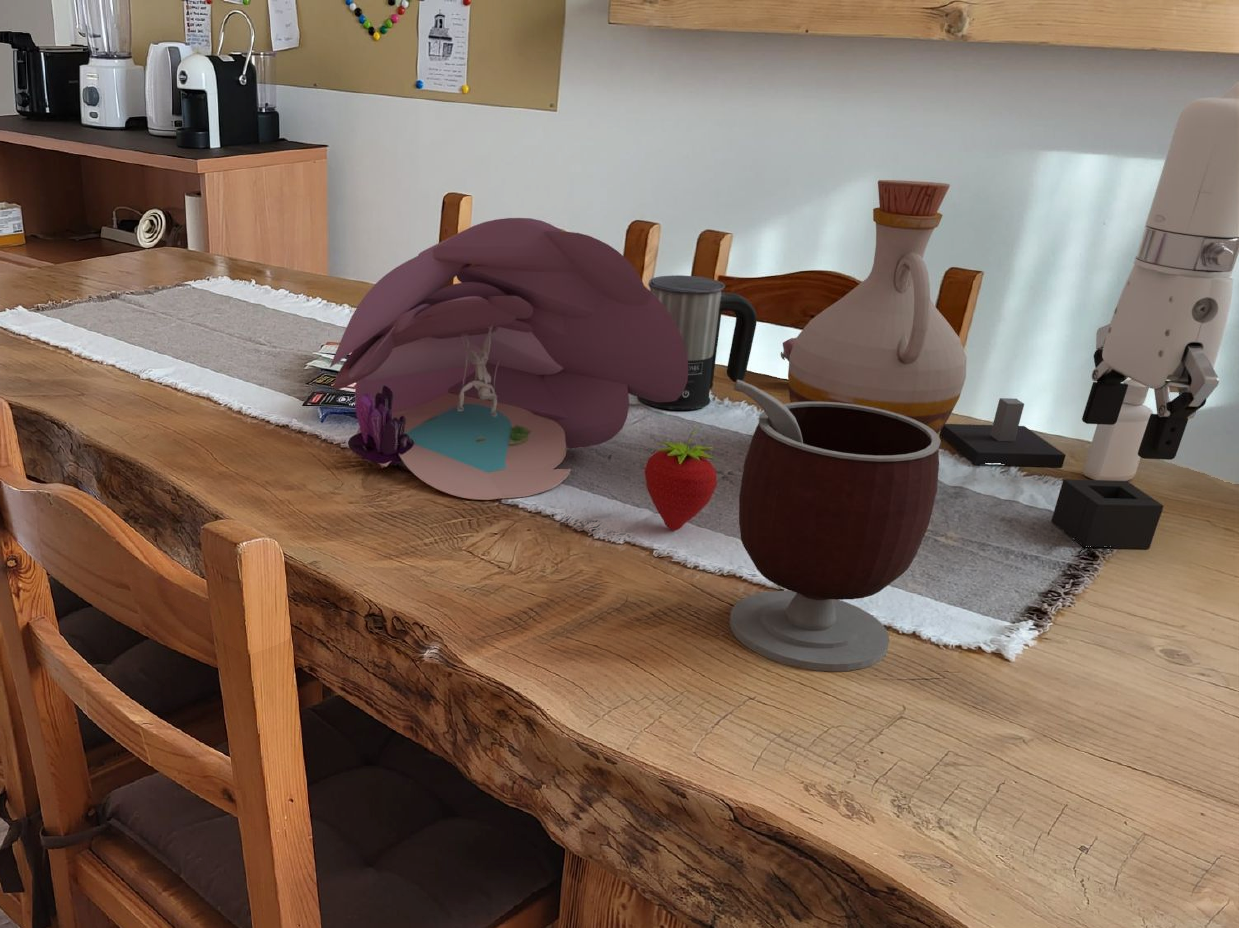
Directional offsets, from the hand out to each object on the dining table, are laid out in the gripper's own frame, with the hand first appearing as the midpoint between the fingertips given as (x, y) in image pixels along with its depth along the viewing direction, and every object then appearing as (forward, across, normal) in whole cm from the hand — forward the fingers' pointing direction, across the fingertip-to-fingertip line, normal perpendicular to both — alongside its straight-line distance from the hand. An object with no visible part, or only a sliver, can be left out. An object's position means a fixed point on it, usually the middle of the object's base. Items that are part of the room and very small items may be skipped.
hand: (1125, 440), depth 109 cm
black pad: (+10, 0, 0) cm, 10 cm away
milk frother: (+10, +44, +32) cm, 56 cm away
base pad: (+10, +24, -2) cm, 26 cm away
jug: (+10, +17, +18) cm, 26 cm away
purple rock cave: (+11, +15, +58) cm, 61 cm away
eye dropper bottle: (+10, +16, -10) cm, 22 cm away
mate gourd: (+10, -21, +36) cm, 43 cm away
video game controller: (+10, +50, +14) cm, 53 cm away
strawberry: (+11, -1, +42) cm, 43 cm away
